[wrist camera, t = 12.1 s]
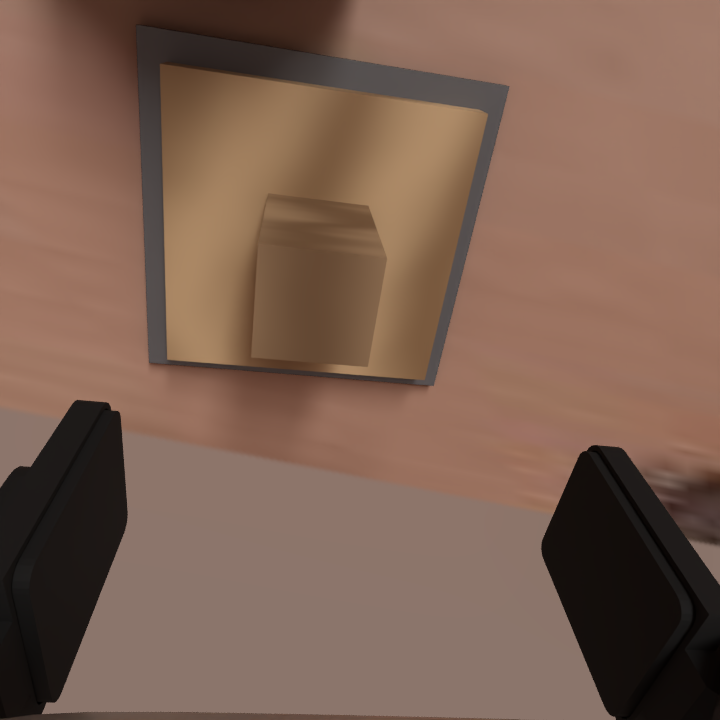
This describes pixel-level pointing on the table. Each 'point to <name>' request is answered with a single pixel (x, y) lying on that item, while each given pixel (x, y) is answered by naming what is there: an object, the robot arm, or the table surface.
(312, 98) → the oak lid
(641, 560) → the robot arm
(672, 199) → the table surface
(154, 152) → the charcoal mat
